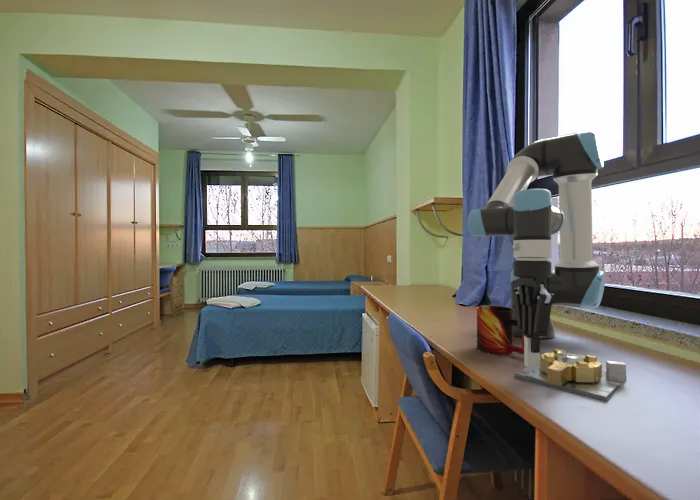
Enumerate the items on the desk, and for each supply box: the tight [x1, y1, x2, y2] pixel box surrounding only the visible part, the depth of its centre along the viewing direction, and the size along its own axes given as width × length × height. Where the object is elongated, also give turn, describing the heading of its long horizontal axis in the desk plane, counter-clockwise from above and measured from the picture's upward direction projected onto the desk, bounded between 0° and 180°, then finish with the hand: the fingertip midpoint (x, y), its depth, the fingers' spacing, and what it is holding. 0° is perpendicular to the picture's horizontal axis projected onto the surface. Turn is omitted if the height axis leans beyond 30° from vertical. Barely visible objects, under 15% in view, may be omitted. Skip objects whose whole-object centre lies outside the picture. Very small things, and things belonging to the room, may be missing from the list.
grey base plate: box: [514, 352, 627, 403], centre depth 77 cm, size 17×18×5 cm
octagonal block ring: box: [540, 348, 603, 386], centre depth 76 cm, size 16×11×4 cm
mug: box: [476, 305, 524, 356], centre depth 99 cm, size 10×14×12 cm
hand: (532, 365), depth 77 cm, fingers closed
